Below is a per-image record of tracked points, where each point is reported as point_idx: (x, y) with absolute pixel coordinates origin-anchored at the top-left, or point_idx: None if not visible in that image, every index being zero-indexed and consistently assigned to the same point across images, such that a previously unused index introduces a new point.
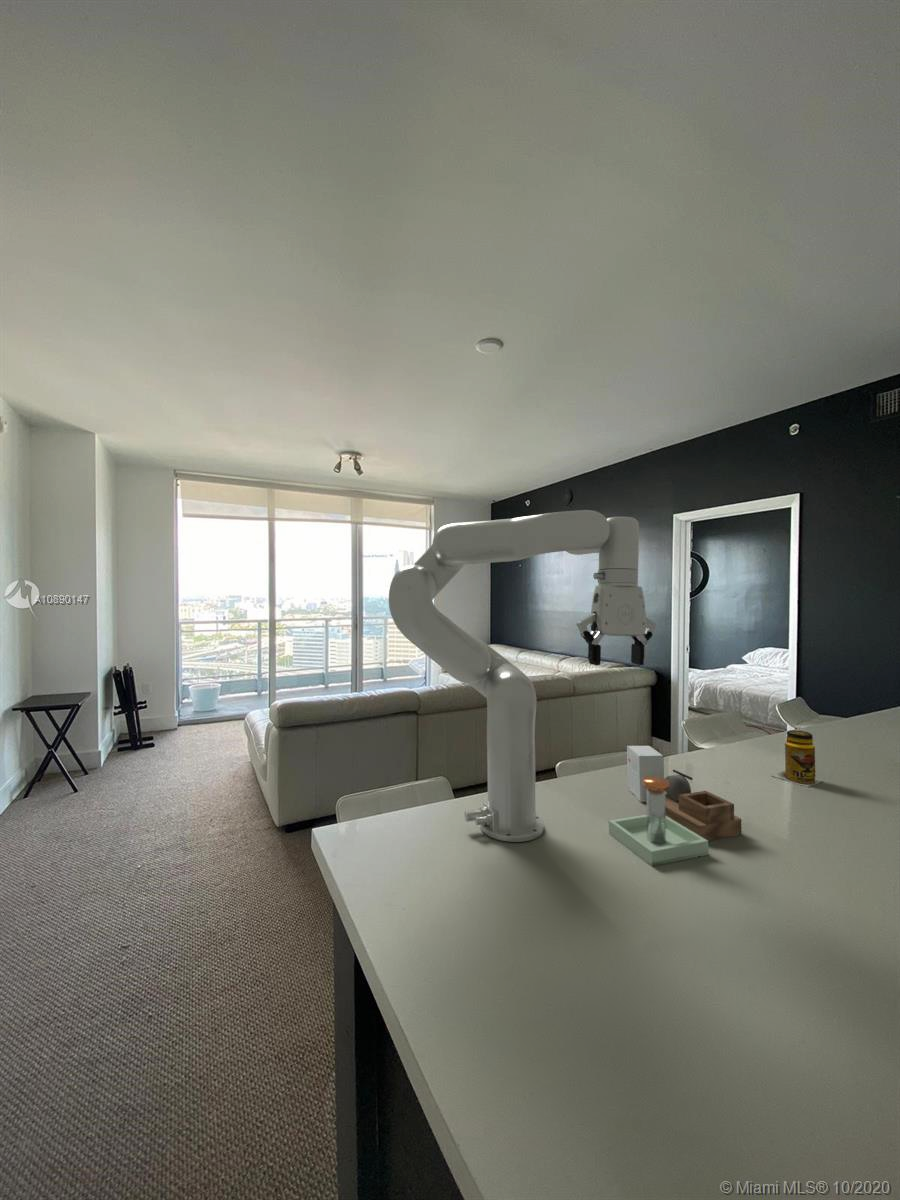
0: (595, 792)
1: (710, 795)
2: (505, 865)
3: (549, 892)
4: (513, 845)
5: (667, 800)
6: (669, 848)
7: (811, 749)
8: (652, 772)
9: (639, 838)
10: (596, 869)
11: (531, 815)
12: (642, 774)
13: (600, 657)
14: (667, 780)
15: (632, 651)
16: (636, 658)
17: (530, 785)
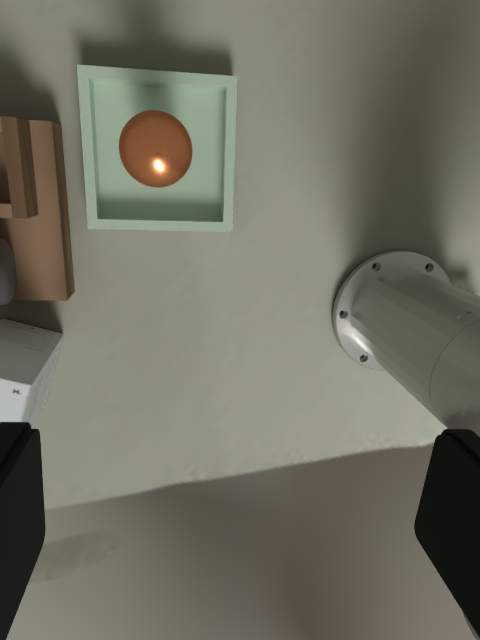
0: (134, 406)
1: None
2: (472, 189)
3: (456, 82)
4: (423, 247)
5: (30, 268)
6: (189, 73)
7: None
8: (7, 353)
9: (190, 176)
10: (338, 116)
11: (391, 280)
12: (38, 359)
13: (476, 468)
14: (121, 134)
15: (5, 622)
16: (24, 508)
17: (428, 296)
